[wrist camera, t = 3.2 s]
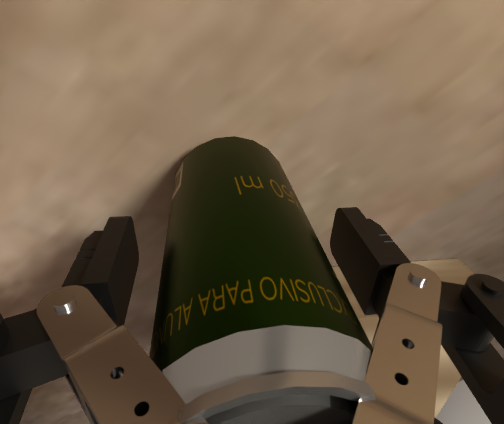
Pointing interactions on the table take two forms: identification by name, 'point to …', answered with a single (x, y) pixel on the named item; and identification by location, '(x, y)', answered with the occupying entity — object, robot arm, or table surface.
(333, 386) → the beer can
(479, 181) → the table surface
